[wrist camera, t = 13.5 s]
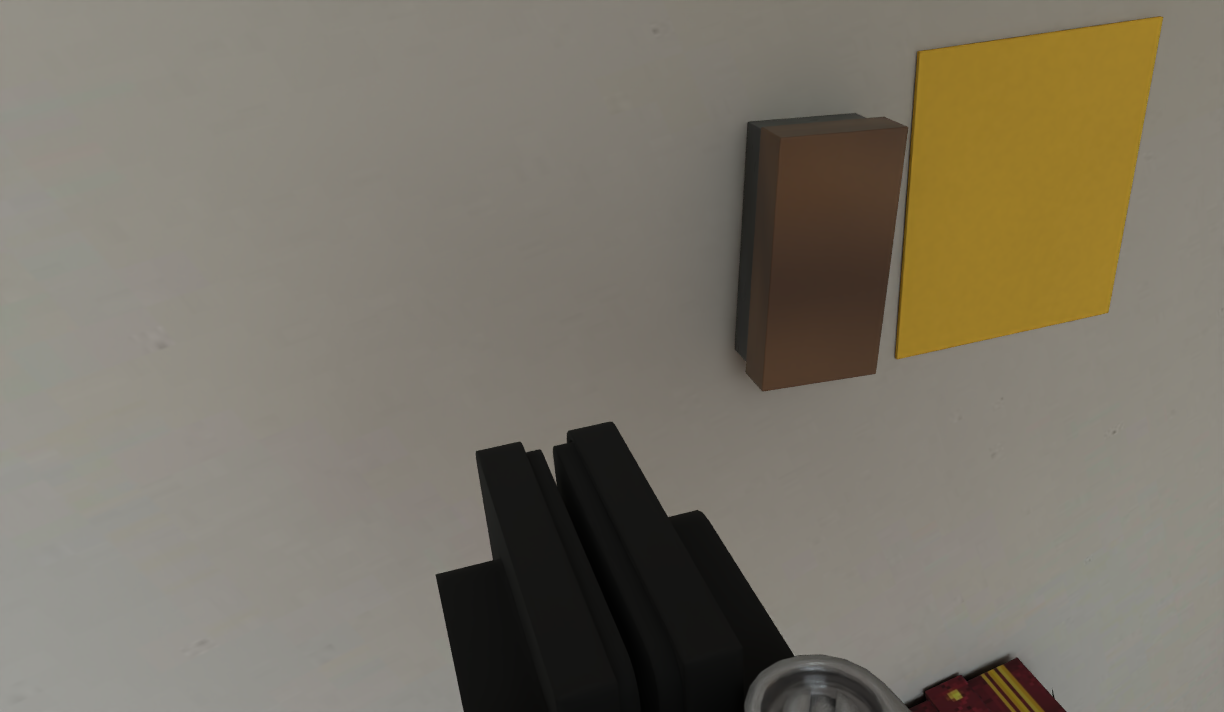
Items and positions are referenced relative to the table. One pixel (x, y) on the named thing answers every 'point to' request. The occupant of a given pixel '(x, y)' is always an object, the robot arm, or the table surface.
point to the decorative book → (991, 693)
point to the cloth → (1020, 181)
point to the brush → (816, 246)
